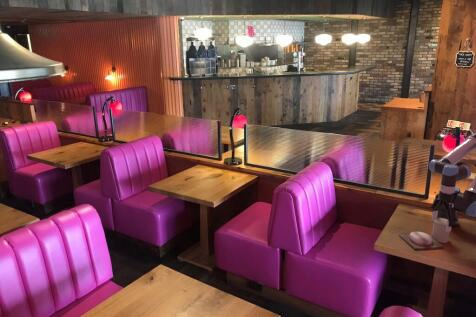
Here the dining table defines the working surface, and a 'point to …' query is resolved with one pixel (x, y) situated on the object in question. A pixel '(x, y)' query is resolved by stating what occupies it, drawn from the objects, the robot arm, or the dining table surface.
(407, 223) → the dining table surface
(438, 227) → the can
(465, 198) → the robot arm
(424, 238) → the stand
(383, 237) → the dining table surface
